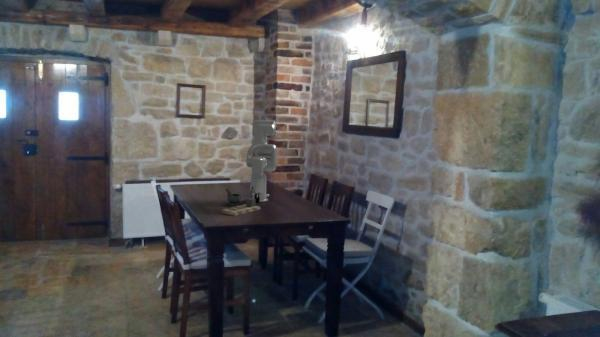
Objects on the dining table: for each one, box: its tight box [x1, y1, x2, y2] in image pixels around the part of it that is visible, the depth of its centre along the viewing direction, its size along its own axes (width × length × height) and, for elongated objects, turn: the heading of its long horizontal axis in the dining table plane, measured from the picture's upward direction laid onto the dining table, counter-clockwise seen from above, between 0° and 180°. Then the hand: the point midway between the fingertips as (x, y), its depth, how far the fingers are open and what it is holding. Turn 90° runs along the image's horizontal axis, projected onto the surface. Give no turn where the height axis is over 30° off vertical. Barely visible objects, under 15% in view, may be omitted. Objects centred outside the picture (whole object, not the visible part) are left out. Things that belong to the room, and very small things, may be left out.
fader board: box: [220, 203, 261, 216], centre depth 317 cm, size 26×12×2 cm, turn 147°
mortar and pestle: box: [225, 187, 242, 207], centre depth 337 cm, size 11×9×12 cm
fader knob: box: [245, 197, 257, 206], centre depth 325 cm, size 4×5×4 cm
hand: (256, 202), depth 331 cm, fingers closed
